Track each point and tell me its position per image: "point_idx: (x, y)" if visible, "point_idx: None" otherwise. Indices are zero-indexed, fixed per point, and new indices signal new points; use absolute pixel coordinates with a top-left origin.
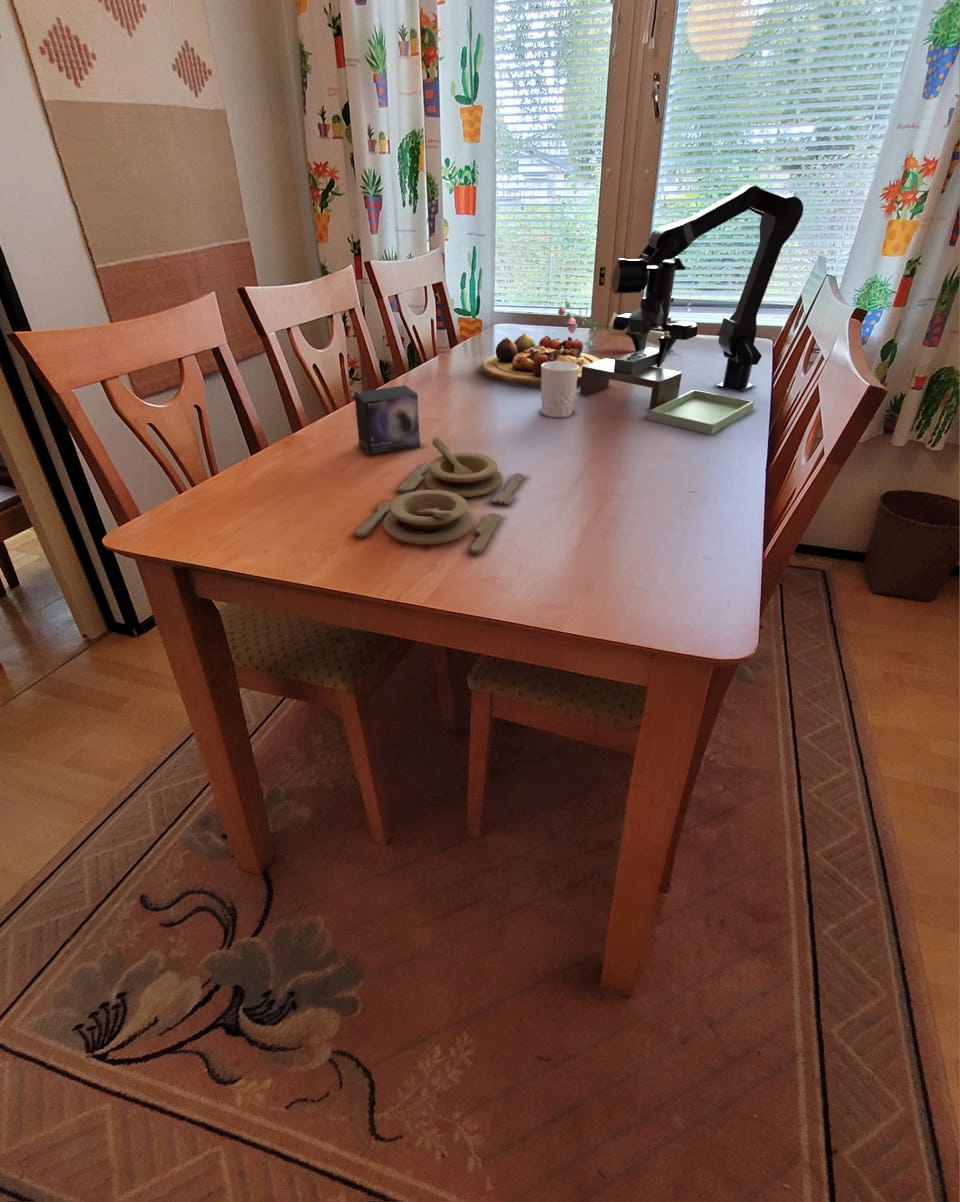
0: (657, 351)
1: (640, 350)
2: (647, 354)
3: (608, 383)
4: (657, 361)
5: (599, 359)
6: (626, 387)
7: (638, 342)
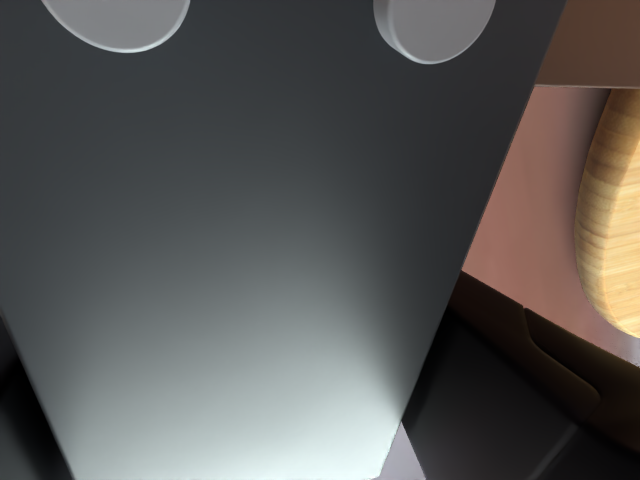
0: (137, 444)
1: (427, 309)
2: (112, 130)
3: None
4: None
5: (622, 322)
6: None
7: (576, 417)
